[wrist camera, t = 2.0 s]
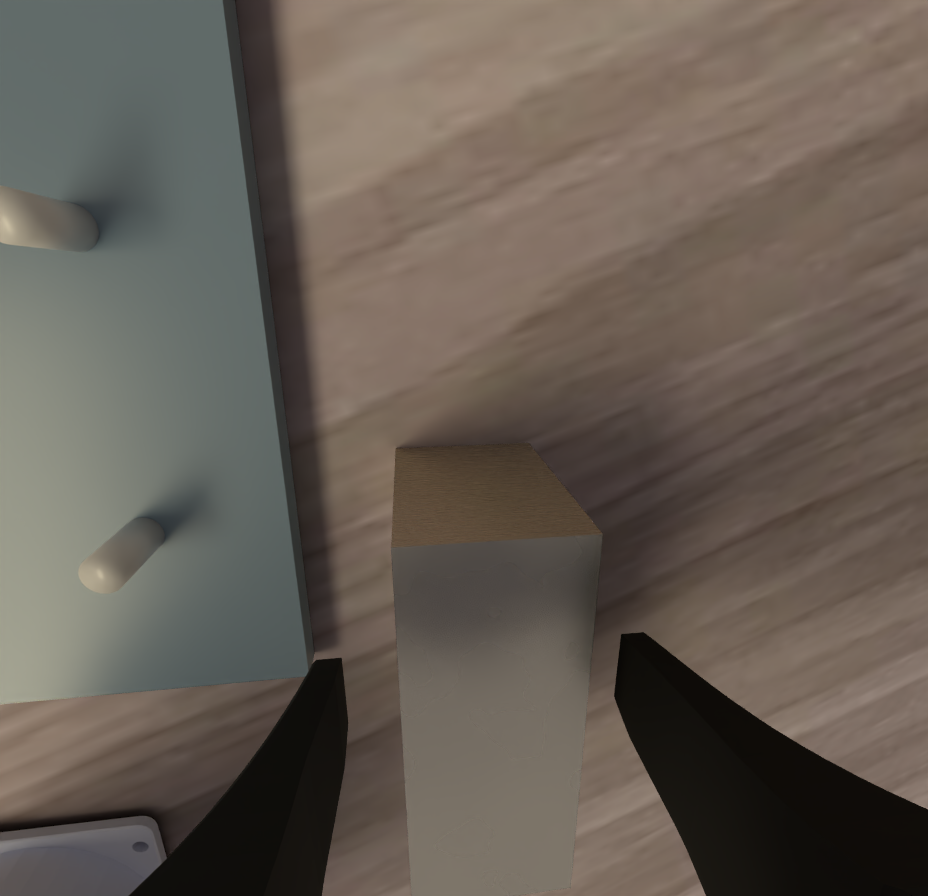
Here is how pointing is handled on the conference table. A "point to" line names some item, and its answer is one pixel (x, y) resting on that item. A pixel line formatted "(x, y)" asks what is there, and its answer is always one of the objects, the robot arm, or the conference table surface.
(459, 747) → the beige rectangular block
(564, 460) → the conference table surface
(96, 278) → the tray
